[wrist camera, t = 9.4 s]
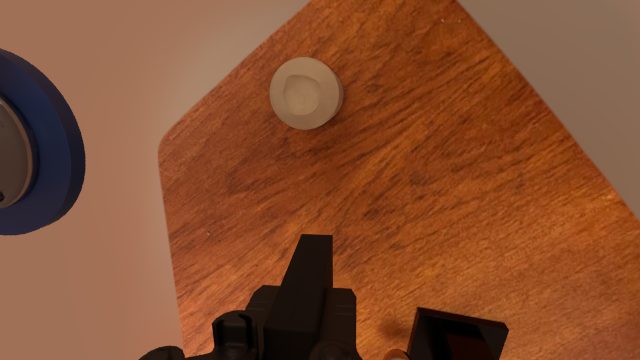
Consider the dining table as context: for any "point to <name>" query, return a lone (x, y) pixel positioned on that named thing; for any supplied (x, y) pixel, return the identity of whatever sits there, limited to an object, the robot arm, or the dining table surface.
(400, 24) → the dining table surface
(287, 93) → the candle
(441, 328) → the bracket
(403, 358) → the lever
